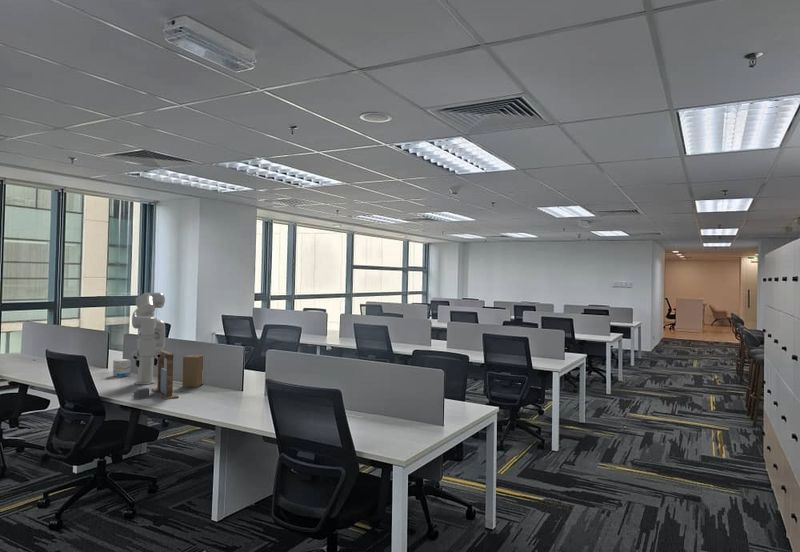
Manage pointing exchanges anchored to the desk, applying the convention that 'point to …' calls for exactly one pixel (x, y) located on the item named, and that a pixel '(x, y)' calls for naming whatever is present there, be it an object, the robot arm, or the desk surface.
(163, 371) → the door leaf
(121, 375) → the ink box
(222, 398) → the desk surface
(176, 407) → the desk surface
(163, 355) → the door frame
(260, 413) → the desk surface
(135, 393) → the wedge
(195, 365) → the wooden block
